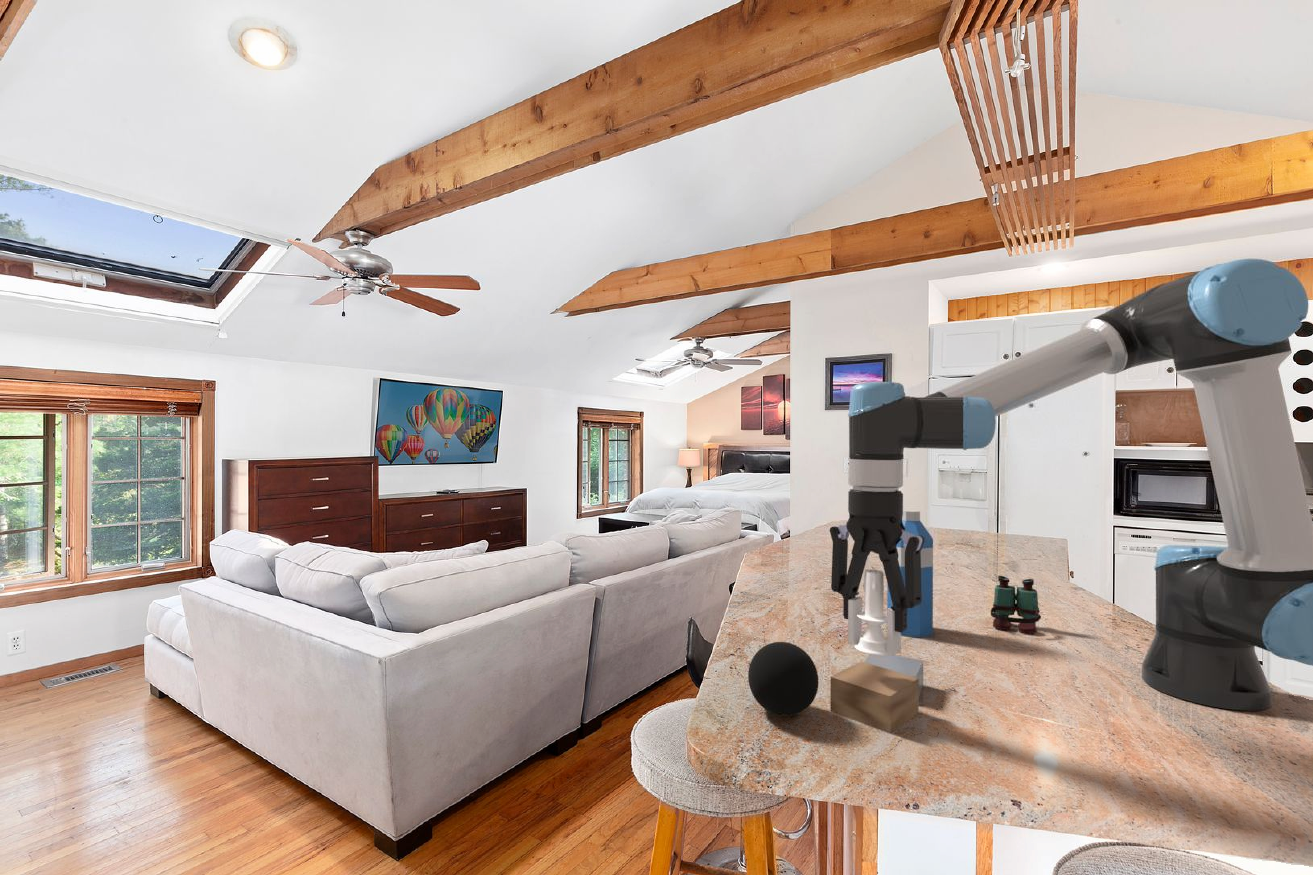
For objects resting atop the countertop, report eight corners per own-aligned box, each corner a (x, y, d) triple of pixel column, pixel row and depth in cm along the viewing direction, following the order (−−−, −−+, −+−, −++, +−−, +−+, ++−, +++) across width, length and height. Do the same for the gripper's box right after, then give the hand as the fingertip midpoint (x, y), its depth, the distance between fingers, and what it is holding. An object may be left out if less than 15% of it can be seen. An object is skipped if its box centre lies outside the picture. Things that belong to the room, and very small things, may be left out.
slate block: (923, 684, 96) (923, 660, 97) (915, 703, 90) (915, 676, 90) (872, 674, 101) (872, 650, 101) (860, 691, 94) (860, 665, 94)
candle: (851, 651, 86) (852, 568, 86) (857, 640, 91) (858, 562, 91) (891, 658, 83) (892, 572, 83) (895, 646, 88) (896, 565, 88)
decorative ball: (833, 717, 85) (833, 647, 85) (781, 735, 80) (782, 661, 80) (783, 692, 94) (783, 628, 94) (734, 707, 88) (734, 639, 88)
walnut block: (918, 712, 87) (918, 678, 87) (890, 733, 81) (890, 696, 81) (860, 693, 93) (861, 661, 93) (830, 710, 87) (830, 676, 87)
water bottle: (940, 629, 125) (940, 510, 125) (924, 640, 118) (925, 514, 118) (895, 620, 131) (896, 506, 131) (878, 630, 124) (878, 510, 124)
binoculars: (989, 585, 123) (992, 571, 131) (990, 635, 124) (992, 618, 132) (1041, 591, 118) (1040, 577, 126) (1041, 643, 119) (1040, 625, 127)
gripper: (950, 491, 83) (949, 658, 83) (832, 483, 96) (831, 627, 96) (928, 494, 78) (926, 672, 78) (806, 485, 91) (805, 637, 91)
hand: (874, 647), depth 87 cm, fingers closed on candle, 5 cm apart
